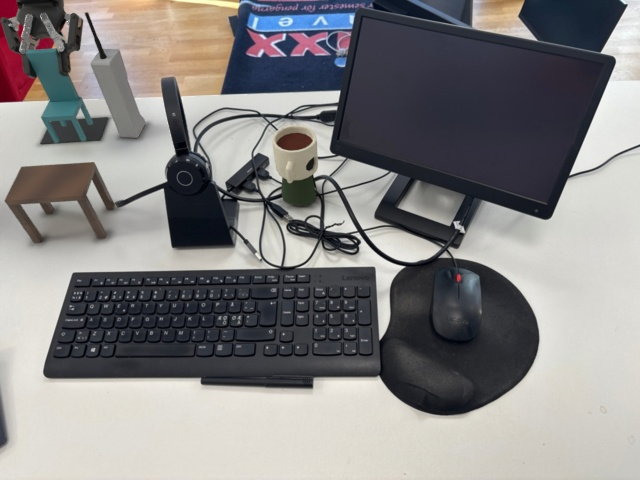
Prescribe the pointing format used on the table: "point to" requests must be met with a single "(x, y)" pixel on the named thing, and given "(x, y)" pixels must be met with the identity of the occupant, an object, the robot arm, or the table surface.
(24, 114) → the table surface
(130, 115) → the vintage mobile phone
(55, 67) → the chair
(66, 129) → the mat
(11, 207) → the desk
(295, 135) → the character mug
